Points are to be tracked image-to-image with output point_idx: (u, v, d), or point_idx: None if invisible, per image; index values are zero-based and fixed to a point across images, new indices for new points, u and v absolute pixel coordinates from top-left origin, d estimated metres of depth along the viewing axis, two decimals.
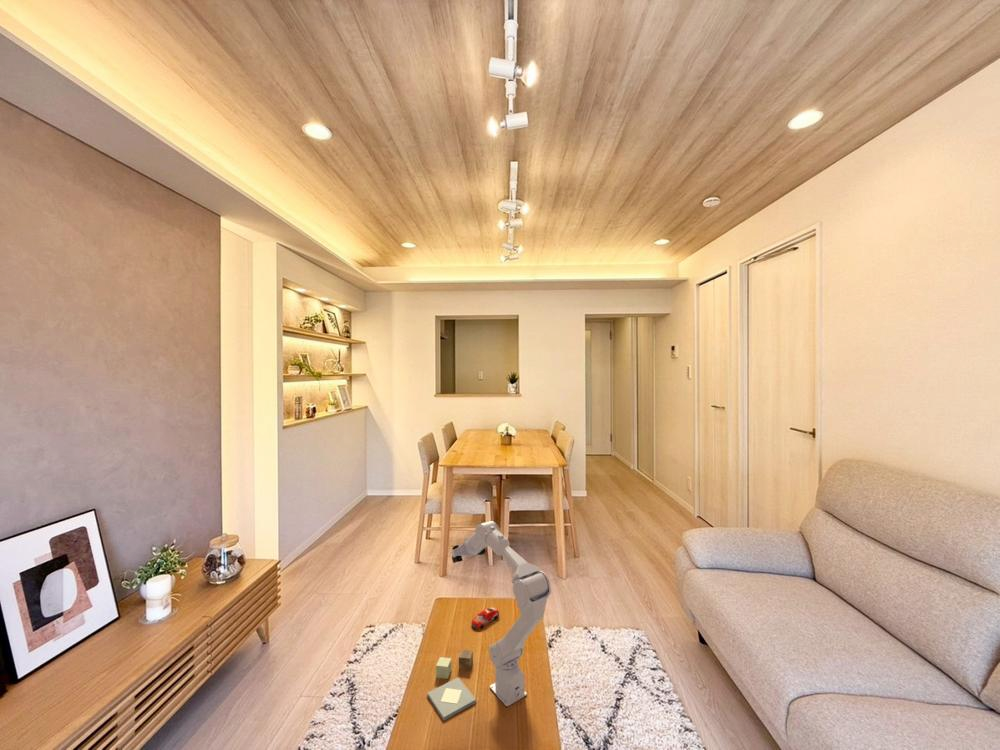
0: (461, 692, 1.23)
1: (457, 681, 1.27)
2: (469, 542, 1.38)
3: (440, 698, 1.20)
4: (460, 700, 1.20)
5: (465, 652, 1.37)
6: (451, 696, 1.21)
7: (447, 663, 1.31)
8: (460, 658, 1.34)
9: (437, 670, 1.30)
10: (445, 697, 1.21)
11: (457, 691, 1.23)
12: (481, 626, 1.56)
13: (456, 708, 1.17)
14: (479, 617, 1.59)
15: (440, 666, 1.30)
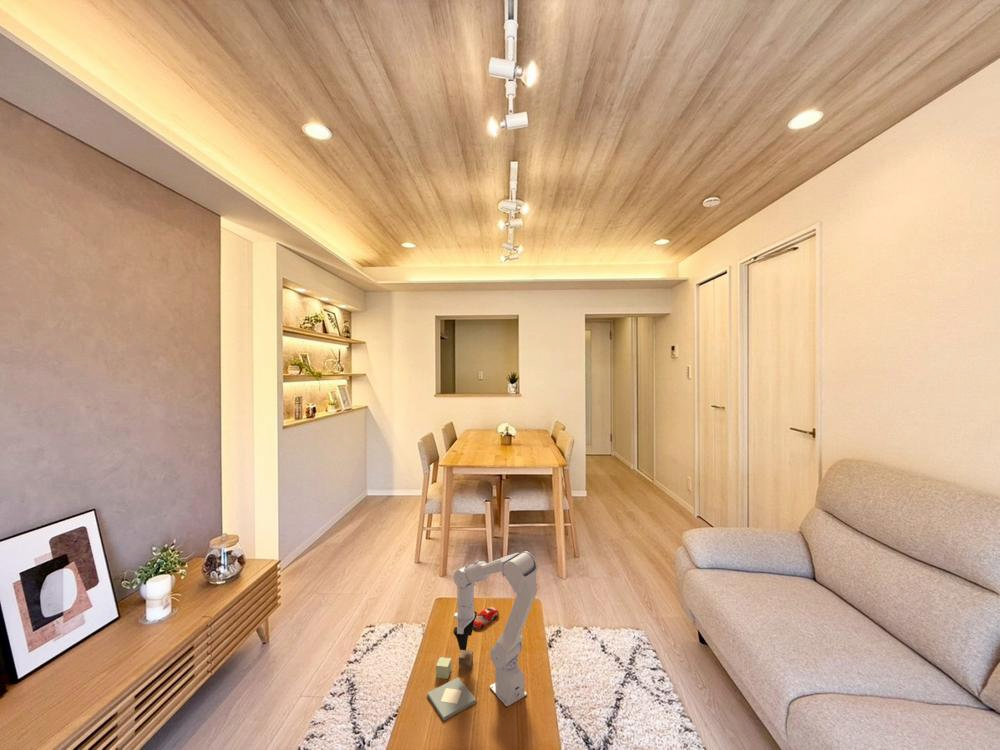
0: (461, 692, 1.23)
1: (457, 681, 1.27)
2: (461, 606, 1.34)
3: (440, 698, 1.20)
4: (460, 700, 1.20)
5: (465, 652, 1.37)
6: (451, 696, 1.21)
7: (447, 663, 1.31)
8: (460, 658, 1.34)
9: (437, 670, 1.30)
10: (445, 697, 1.21)
11: (457, 691, 1.23)
12: (481, 626, 1.56)
13: (456, 708, 1.17)
14: (479, 617, 1.59)
15: (440, 666, 1.30)
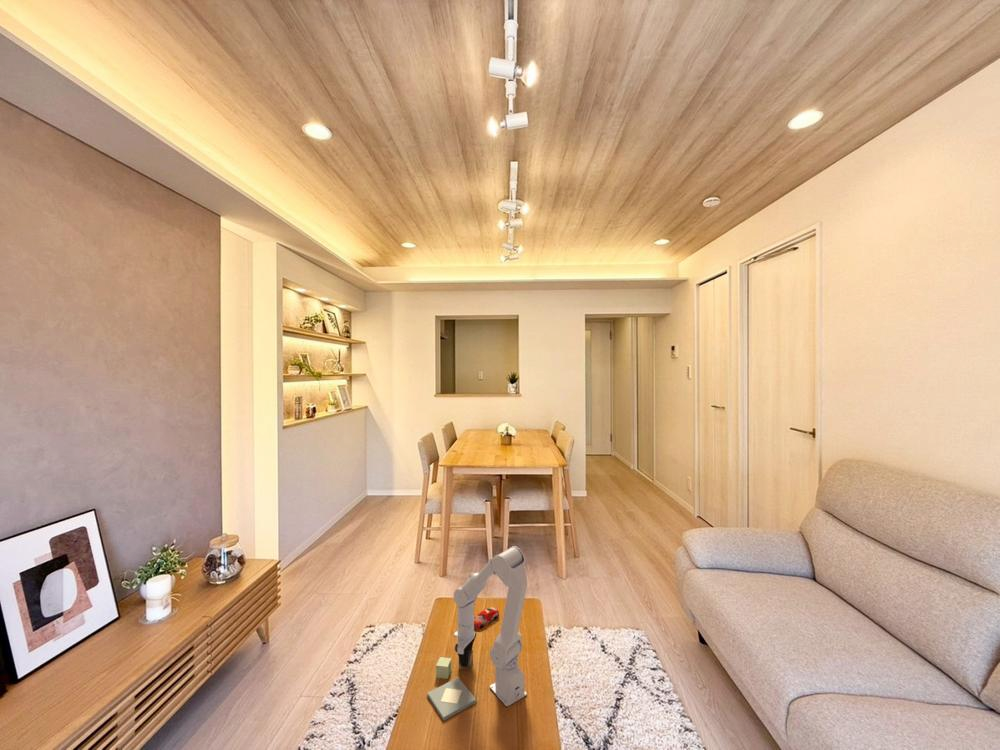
0: (461, 692, 1.23)
1: (457, 681, 1.27)
2: (461, 625, 1.33)
3: (440, 698, 1.20)
4: (460, 700, 1.20)
5: None
6: (451, 696, 1.21)
7: (447, 663, 1.31)
8: None
9: (437, 670, 1.30)
10: (445, 697, 1.21)
11: (457, 691, 1.23)
12: (481, 626, 1.56)
13: (456, 708, 1.17)
14: (479, 617, 1.59)
15: (440, 666, 1.30)
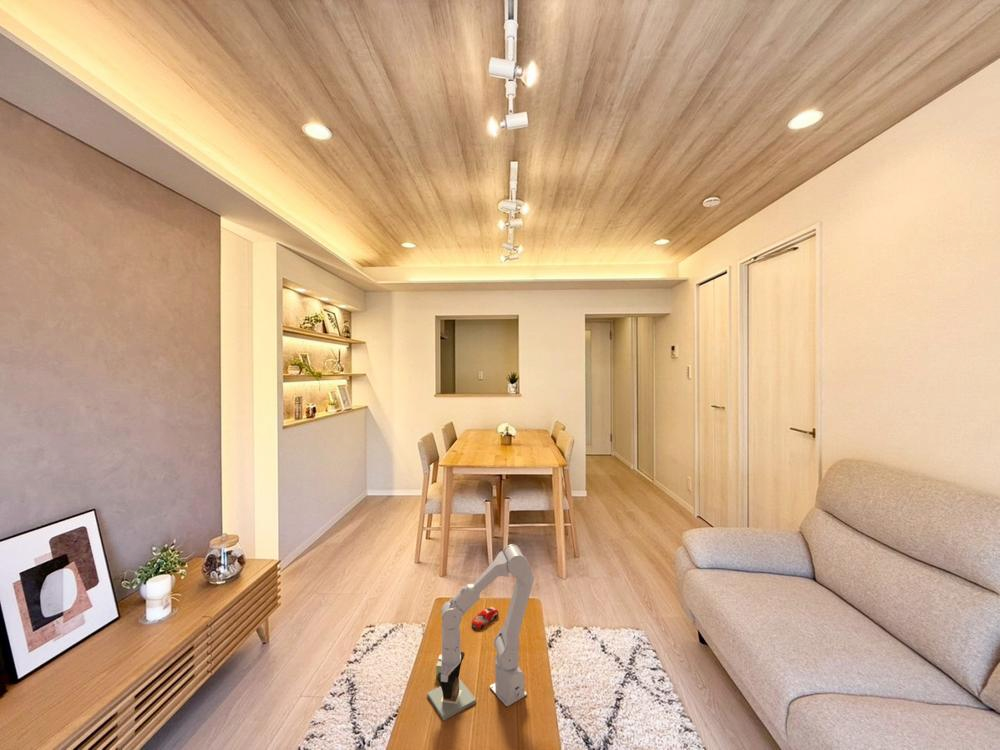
0: (461, 692, 1.23)
1: None
2: (446, 649, 1.19)
3: (440, 698, 1.20)
4: (460, 700, 1.20)
5: None
6: None
7: None
8: None
9: (437, 670, 1.30)
10: None
11: None
12: (482, 626, 1.56)
13: (456, 708, 1.17)
14: (479, 617, 1.59)
15: (440, 666, 1.30)
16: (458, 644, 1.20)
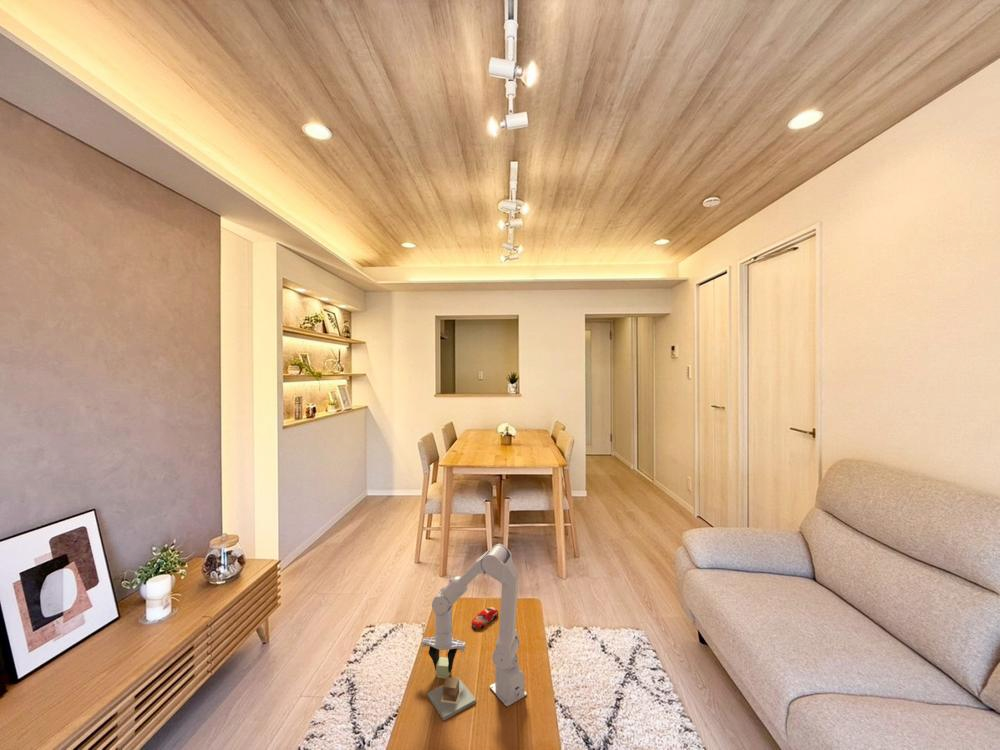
0: (461, 692, 1.23)
1: None
2: None
3: (440, 698, 1.20)
4: (460, 700, 1.20)
5: (450, 680, 1.22)
6: None
7: (447, 663, 1.31)
8: (444, 688, 1.20)
9: (437, 670, 1.30)
10: None
11: None
12: (482, 626, 1.56)
13: (456, 708, 1.17)
14: (479, 617, 1.59)
15: (440, 666, 1.30)
16: (446, 631, 1.30)
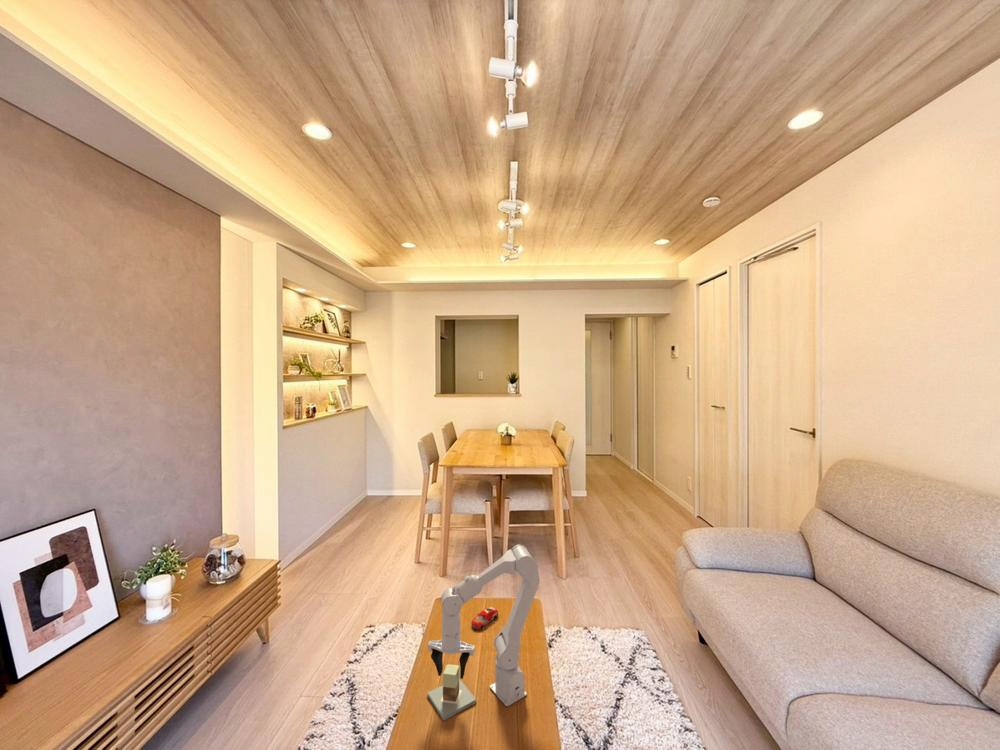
0: (461, 692, 1.23)
1: None
2: None
3: (440, 698, 1.20)
4: (460, 700, 1.20)
5: None
6: None
7: (455, 671, 1.21)
8: (444, 688, 1.20)
9: (444, 678, 1.20)
10: None
11: None
12: (481, 626, 1.56)
13: (456, 708, 1.17)
14: (479, 617, 1.59)
15: (447, 674, 1.20)
16: (458, 631, 1.20)
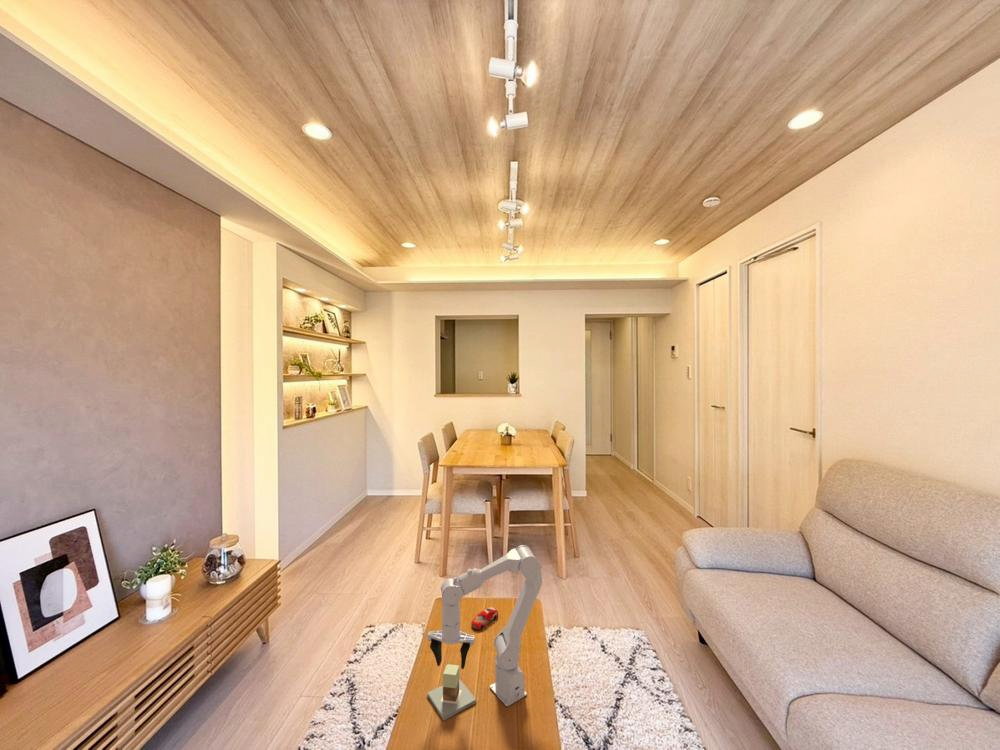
0: (461, 692, 1.23)
1: None
2: None
3: (440, 698, 1.20)
4: (460, 700, 1.20)
5: None
6: None
7: (455, 671, 1.21)
8: (444, 688, 1.20)
9: (444, 678, 1.20)
10: None
11: None
12: (481, 626, 1.56)
13: (456, 708, 1.17)
14: (479, 618, 1.59)
15: (447, 674, 1.20)
16: (458, 621, 1.20)
